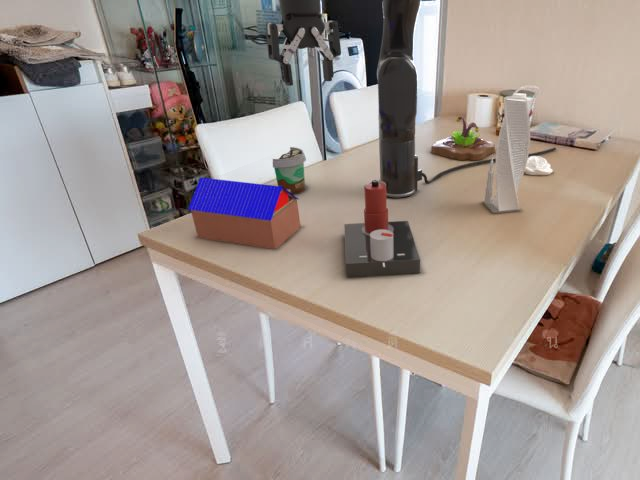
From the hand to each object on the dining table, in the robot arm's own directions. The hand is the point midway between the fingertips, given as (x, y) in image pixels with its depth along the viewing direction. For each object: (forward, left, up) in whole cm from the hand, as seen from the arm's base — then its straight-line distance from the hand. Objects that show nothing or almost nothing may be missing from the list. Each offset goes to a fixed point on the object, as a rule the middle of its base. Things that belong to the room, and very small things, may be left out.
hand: (308, 83), depth 91 cm
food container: (-5, -24, -30) cm, 39 cm away
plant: (-67, -24, -30) cm, 77 cm away
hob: (-1, +21, -30) cm, 37 cm away
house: (+16, -6, -30) cm, 35 cm away
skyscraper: (-41, +19, -30) cm, 54 cm away
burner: (-4, +16, -27) cm, 32 cm away
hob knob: (+1, +26, -27) cm, 38 cm away
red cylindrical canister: (-4, +16, -27) cm, 32 cm away
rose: (-70, +5, -30) cm, 76 cm away
